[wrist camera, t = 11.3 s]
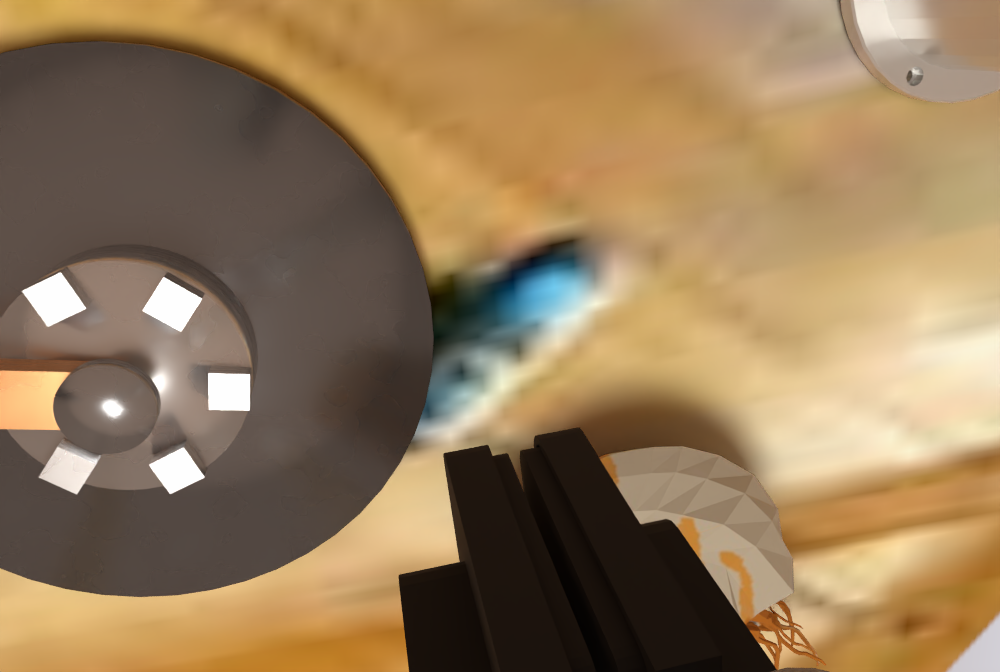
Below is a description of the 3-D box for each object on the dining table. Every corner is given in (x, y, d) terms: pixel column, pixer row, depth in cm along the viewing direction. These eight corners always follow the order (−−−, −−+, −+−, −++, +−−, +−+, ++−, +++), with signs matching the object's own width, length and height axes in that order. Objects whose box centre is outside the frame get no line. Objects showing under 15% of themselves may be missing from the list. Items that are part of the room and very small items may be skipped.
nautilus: (845, 544, 50) (670, 698, 53) (619, 346, 41) (422, 544, 44) (931, 640, 43) (724, 812, 46) (681, 427, 34) (442, 657, 37)
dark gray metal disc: (383, 5, 34) (385, 4, 33) (462, 524, 44) (466, 538, 43) (-298, 84, 31) (-325, 86, 30) (-54, 629, 40) (-66, 648, 39)
